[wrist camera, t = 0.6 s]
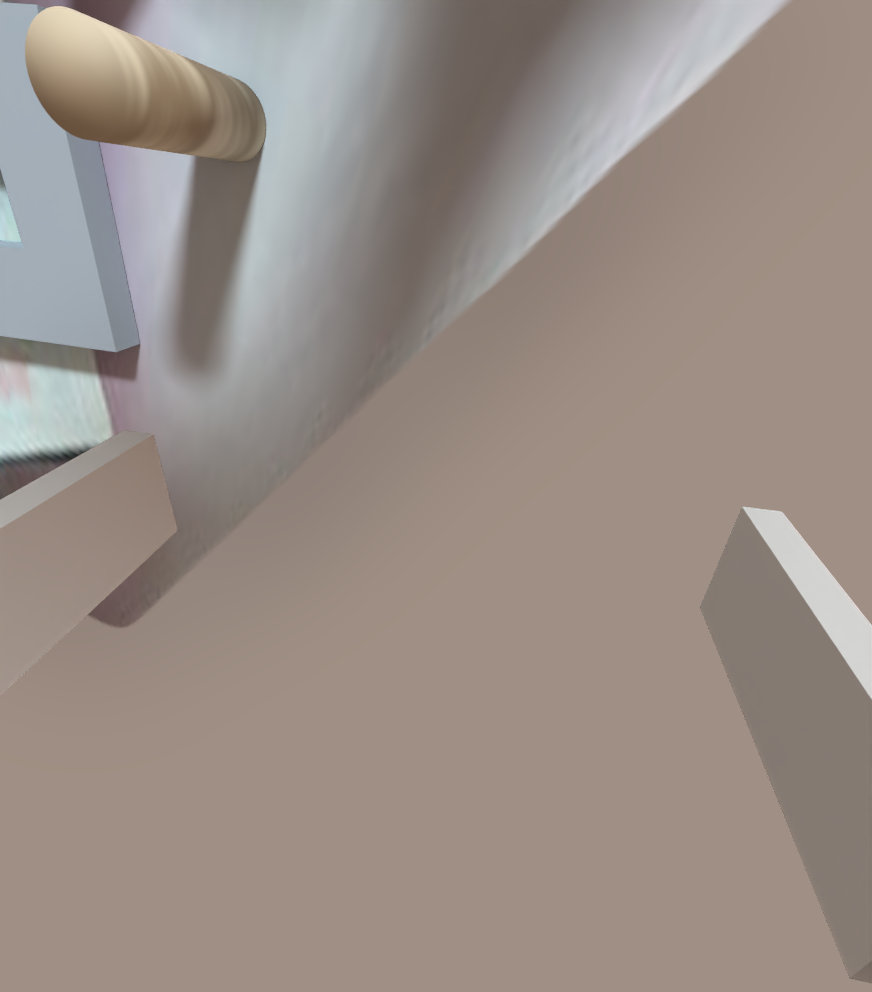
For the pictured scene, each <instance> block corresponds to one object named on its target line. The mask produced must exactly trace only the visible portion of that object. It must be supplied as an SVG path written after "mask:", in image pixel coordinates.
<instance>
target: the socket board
mask: <svg viewBox="0 0 872 992" xmlns="http://www.w3.org/2000/svg"><path fill="white" fill-rule="evenodd" d="M45 9H46V8H43V7H41V6H38V5H32V4H17V3H3V2H0V170H1V173H2V176H3V180H4V183H5V187H6V190H7V194H8V197H9V200H10V204H11V207H12V211H13V214H14V218H15V221H16V224H17V228H18V231H19V235H20V238H21V242H22V243H19V242H11V241H3V240H0V336H4V337H11V338H18V339H25V340H33V341H40V342H47V343H54V344H61V345H68V346H76V347H83V348H90V349H97V350H104V351H111V352H118V351H121V350H124V349H127V348H130V347H133V346H135V345H138V344H140V341H139V336H138V331H137V327H136V322H135V317H134V312H133V307H132V302H131V297H130V292H129V288H128V283H127V278H126V273H125V268H124V263H123V258H122V253H121V249H120V244H119V239H118V234H117V229H116V224H115V219H114V214H113V209H112V205H111V200H110V195H109V190H108V185H107V180H106V175H105V170H104V166H103V161H102V156H101V151H100V146H99V142H98V141H91V140H85V139H81V138H78V137H75V136H73V135H71V134H70V133H68V132H67V131H65V130H64V129H62V128H61V127H60V126H59V125H58V124H57V123H56V122H55V121H54V120H53V119H52V118H51V117H50V116H49V115H48V113H47V112H46V111H45V109H44V108H43V106H42V105H41V103H40V101H39V100H38V98H37V96H36V94H35V92H34V90H33V87H32V85H31V82H30V79H29V75H28V72H27V67H26V60H25V42H26V36H27V32H28V29H29V26H30V24H31V22H32V21H33V19H34V18H35V17H36V16H37V14H39V13H40V12H41V11H42V10H45Z"/></svg>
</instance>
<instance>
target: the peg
mask: <svg viewBox="0 0 872 992" xmlns="http://www.w3.org/2000/svg"><path fill="white" fill-rule="evenodd" d="M25 60H26V67H27V72H28V75H29V79H30V82H31V85H32V87H33V90H34V92H35V94H36V96H37V98H38V100H39V101H40V103H41V105H42V106H43V108H44V109H45V111H46V112H47V113H48V115H49V116H50V117H51V118H52V119H53V120H54V121H55V122H56V123H57V124H58V125H59V126H60V127H61V128H62V129H64V130H65V131H67V132H68V133H70V134H71V135H73V136H75V137H78V138H81V139H85V140H91V141H98V142H105V143H111V144H118V145H125V146H132V147H139V148H146V149H152V150H159V151H166V152H173V153H180V154H186V155H193V156H200V157H207V158H214V159H221V160H227V161H234V162H245V161H248V160H250V159H252V158H253V157H255V156H256V155H257V154H258V153H259V151H260V150H261V148H262V146H263V143H264V140H265V136H266V119H265V114H264V111H263V108H262V105H261V103H260V101H259V99H258V97H257V96H256V94H255V93H254V92H253V91H252V89H251V88H250V87H248V86H247V85H246V84H245V83H243V82H242V81H240V80H238V79H235V78H233V77H231V76H228V75H226V74H224V73H221V72H219V71H216V70H214V69H212V68H209V67H207V66H205V65H202V64H200V63H198V62H195V61H193V60H191V59H188V58H186V57H184V56H181V55H179V54H177V53H174V52H172V51H169V50H167V49H165V48H162V47H160V46H158V45H155V44H153V43H151V42H148V41H146V40H144V39H141V38H139V37H137V36H134V35H132V34H130V33H127V32H125V31H123V30H120V29H118V28H115V27H113V26H111V25H108V24H106V23H104V22H101V21H99V20H97V19H94V18H92V17H90V16H87V15H85V14H83V13H80V12H78V11H76V10H73V9H70V8H67V7H61V6H54V7H50V8H47V9H45V10H42V11H41V12H40V13H39V14H37V16H36V17H35V18H34V19H33V21H32V22H31V24H30V26H29V29H28V32H27V36H26V42H25Z"/></svg>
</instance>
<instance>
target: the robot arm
mask: <svg viewBox="0 0 872 992" xmlns="http://www.w3.org/2000/svg"><path fill="white" fill-rule="evenodd" d="M177 531H178V530H177V526H176V522H175V518H174V514H173V510H172V506H171V502H170V498H169V494H168V490H167V486H166V482H165V478H164V474H163V470H162V466H161V462H160V458H159V454H158V450H157V446H156V442H155V438H154V434H149V433H140V432H132V431H122V432H120V433H118V434H117V435H115V436H113V437H111V438H110V439H108V440H106V441H104V442H102V443H101V444H99V445H97V446H95V447H94V448H92V449H90V450H88V451H86V452H85V453H83V454H81V455H79V456H78V457H76V458H74V459H72V460H70V461H69V462H67V463H65V464H63V465H62V466H60V467H58V468H56V469H54V470H53V471H51V472H49V473H47V474H46V475H44V476H42V477H40V478H38V479H37V480H35V481H33V482H31V483H30V484H28V485H26V486H24V487H22V488H21V489H19V490H17V491H15V492H14V493H12V494H10V495H8V496H6V497H5V498H3V499H1V500H0V695H1V694H2V693H3V692H5V691H6V690H7V689H8V688H9V687H10V686H11V685H12V684H13V683H14V682H15V681H16V680H18V679H19V678H20V677H21V675H23V674H24V673H25V672H26V671H27V670H28V669H29V668H30V667H31V666H33V665H34V664H35V663H36V662H37V661H38V660H39V659H40V658H41V657H42V656H43V655H44V654H46V653H47V652H48V651H49V650H50V649H51V648H52V647H53V646H54V645H55V644H56V643H57V642H58V641H60V640H61V639H62V638H63V637H64V636H65V635H66V634H67V633H68V632H69V631H70V630H71V629H72V628H73V627H75V625H76V624H78V623H79V622H80V621H81V620H82V619H83V618H84V617H85V616H86V615H88V614H89V613H90V612H91V611H92V610H93V609H94V608H95V607H96V606H97V605H98V604H99V603H100V602H102V601H103V600H104V599H105V598H106V597H107V596H108V595H109V594H110V593H111V592H112V591H113V590H114V589H116V588H117V587H118V586H119V585H120V584H121V583H122V582H123V581H124V580H125V579H126V578H127V577H128V576H130V575H131V574H132V573H133V572H134V571H135V570H136V569H137V568H138V567H139V566H140V565H141V564H142V563H144V562H145V561H146V560H147V559H148V558H149V557H150V556H151V555H152V554H153V553H154V552H155V551H156V550H158V549H159V548H160V547H161V546H162V545H163V544H164V543H165V542H166V541H167V540H168V539H169V538H170V537H172V536H173V535H174V534H175V533H176V532H177ZM700 609H701V611H702V614H703V616H704V619H705V621H706V624H707V626H708V629H709V631H710V634H711V636H712V638H713V641H714V643H715V646H716V648H717V651H718V653H719V655H720V658H721V661H722V663H723V665H724V668H725V670H726V673H727V676H728V678H729V681H730V683H731V686H732V688H733V690H734V693H735V695H736V698H737V700H738V703H739V705H740V708H741V710H742V713H743V715H744V718H745V720H746V723H747V725H748V728H749V730H750V732H751V735H752V738H753V740H754V743H755V745H756V747H757V750H758V752H759V755H760V757H761V760H762V762H763V765H764V767H765V769H766V772H767V775H768V777H769V780H770V782H771V785H772V787H773V789H774V792H775V795H776V797H777V799H778V802H779V804H780V807H781V809H782V812H783V814H784V817H785V819H786V822H787V824H788V827H789V829H790V832H791V834H792V837H793V839H794V842H795V844H796V847H797V849H798V851H799V854H800V856H801V859H802V861H803V864H804V866H805V869H806V871H807V874H808V876H809V879H810V881H811V884H812V886H813V889H814V891H815V894H816V896H817V899H818V901H819V903H820V906H821V909H822V911H823V913H824V916H825V918H826V921H827V923H828V926H829V928H830V931H831V933H832V935H833V938H834V941H835V943H836V946H837V948H838V951H839V953H840V956H841V958H842V961H843V963H844V965H845V968H846V970H847V973H848V975H849V978H851V979H855V980H860V981H864V982H869V983H872V625H871V624H870V623H869V621H868V620H867V619H866V618H865V616H864V615H863V614H862V613H861V611H860V610H859V609H858V608H857V606H856V605H855V604H854V603H853V601H852V600H851V599H850V597H849V596H848V595H847V594H846V592H845V591H844V590H843V589H842V587H841V586H840V585H839V583H838V582H837V581H836V580H835V578H834V577H833V576H832V575H831V573H830V572H829V571H828V570H827V568H826V567H825V566H824V565H823V563H822V562H821V561H820V559H819V558H818V557H817V556H816V554H815V553H814V552H813V551H812V549H811V548H810V547H809V545H808V544H807V543H806V542H805V540H804V539H803V538H802V537H801V535H800V534H799V533H798V532H797V531H796V529H795V528H794V526H793V525H792V524H791V523H790V521H789V520H788V519H787V518H786V516H785V515H784V514H783V513H782V512H781V511H772V510H764V509H756V508H748V507H742V508H741V511H740V513H739V515H738V518H737V520H736V523H735V525H734V527H733V530H732V532H731V534H730V537H729V539H728V542H727V544H726V546H725V549H724V551H723V554H722V556H721V558H720V561H719V563H718V566H717V568H716V570H715V572H714V575H713V577H712V580H711V582H710V584H709V587H708V589H707V592H706V594H705V596H704V599H703V601H702V603H701V606H700Z"/></svg>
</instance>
